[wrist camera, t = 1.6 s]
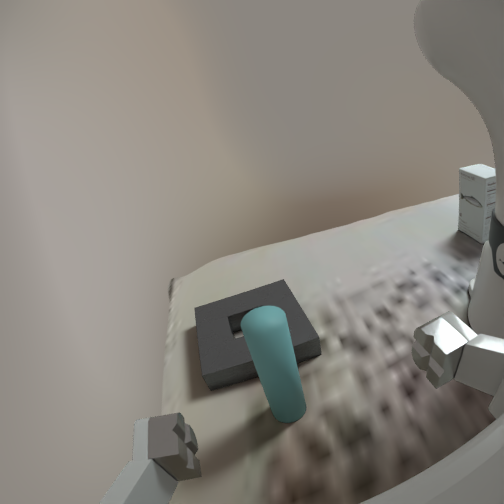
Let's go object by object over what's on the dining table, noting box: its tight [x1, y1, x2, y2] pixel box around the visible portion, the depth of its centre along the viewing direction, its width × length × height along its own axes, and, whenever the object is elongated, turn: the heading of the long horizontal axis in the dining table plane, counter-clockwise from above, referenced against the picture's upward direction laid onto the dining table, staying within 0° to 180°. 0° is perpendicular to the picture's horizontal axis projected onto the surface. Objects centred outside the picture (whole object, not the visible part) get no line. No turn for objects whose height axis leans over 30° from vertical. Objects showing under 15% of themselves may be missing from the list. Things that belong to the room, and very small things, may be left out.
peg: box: [241, 306, 306, 423], centre depth 27 cm, size 4×4×13 cm
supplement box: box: [458, 164, 496, 244], centre depth 45 cm, size 7×7×13 cm
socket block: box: [195, 279, 321, 391], centre depth 41 cm, size 14×14×3 cm
